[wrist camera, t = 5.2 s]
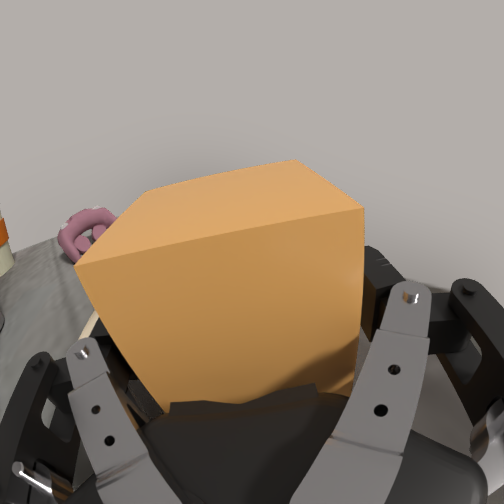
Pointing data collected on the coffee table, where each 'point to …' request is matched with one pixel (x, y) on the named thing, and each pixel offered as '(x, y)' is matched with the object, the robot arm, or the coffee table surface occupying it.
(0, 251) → the reusable coffee cup
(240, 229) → the tall orange pillar
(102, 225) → the video game controller
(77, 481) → the coffee table surface
